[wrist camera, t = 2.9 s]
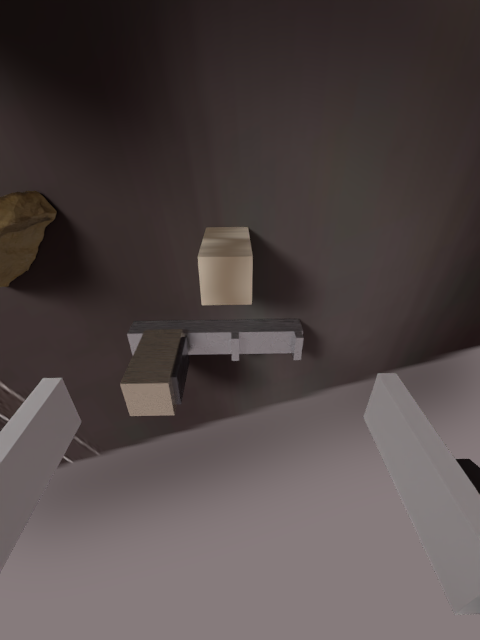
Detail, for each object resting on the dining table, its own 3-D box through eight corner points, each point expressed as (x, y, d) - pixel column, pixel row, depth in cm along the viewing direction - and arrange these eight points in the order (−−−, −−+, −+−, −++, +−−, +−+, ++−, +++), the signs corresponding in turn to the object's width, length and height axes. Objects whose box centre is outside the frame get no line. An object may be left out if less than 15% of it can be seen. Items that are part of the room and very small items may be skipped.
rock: (15, 151, 22) (-119, 178, 22) (9, 243, 19) (-147, 276, 19) (89, 238, 32) (-1, 258, 32) (93, 307, 29) (-6, 330, 29)
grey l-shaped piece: (139, 345, 35) (107, 416, 26) (132, 317, 33) (95, 384, 24) (295, 343, 35) (316, 412, 26) (299, 315, 33) (323, 380, 24)
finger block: (209, 271, 30) (202, 310, 23) (206, 227, 28) (197, 257, 21) (247, 270, 30) (251, 309, 23) (248, 227, 28) (252, 256, 21)
